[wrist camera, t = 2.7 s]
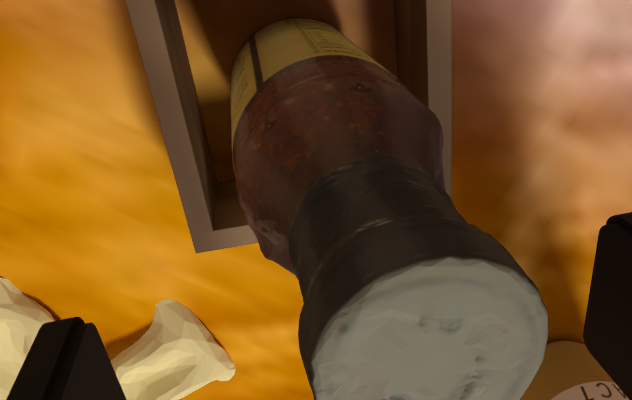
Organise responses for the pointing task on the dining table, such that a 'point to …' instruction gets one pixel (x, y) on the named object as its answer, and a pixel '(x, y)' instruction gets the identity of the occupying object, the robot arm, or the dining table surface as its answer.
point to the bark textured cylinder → (571, 376)
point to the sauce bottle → (373, 228)
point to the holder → (188, 128)
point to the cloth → (135, 361)
